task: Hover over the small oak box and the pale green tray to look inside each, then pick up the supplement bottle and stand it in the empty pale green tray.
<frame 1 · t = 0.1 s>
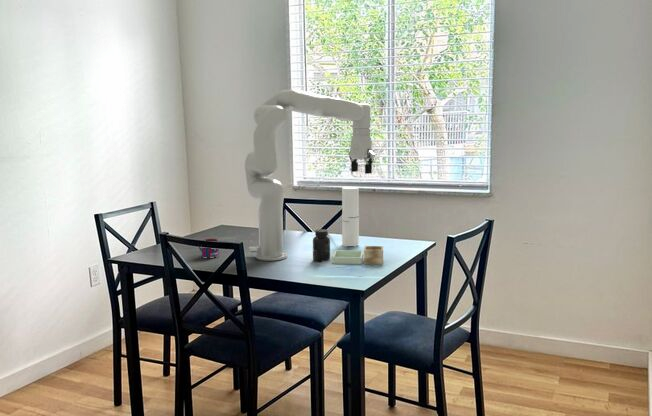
hand: (361, 172, 265), 31 cm above the table, tool pointing down, fingers open, 9 cm apart
supplement bottle: (321, 260, 240), on the table
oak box: (373, 263, 235), on the table
tray: (348, 261, 238), on the table
mug: (208, 256, 248), on the table
cylindrical container: (350, 245, 266), on the table
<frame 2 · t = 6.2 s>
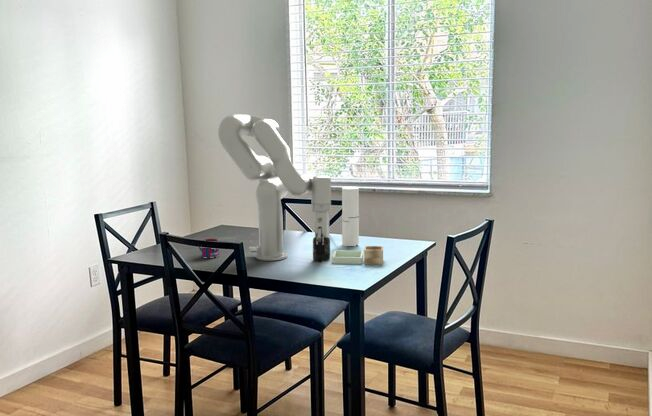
hand: (321, 252, 239), 3 cm above the table, tool pointing down, fingers closed on supplement bottle, 6 cm apart
supplement bottle: (321, 260, 240), on the table, touching gripper
everything else where it was.
when the fingers open (5 cm above the table, at t = 11.5 s): supplement bottle drops 1 cm, resting on tray.
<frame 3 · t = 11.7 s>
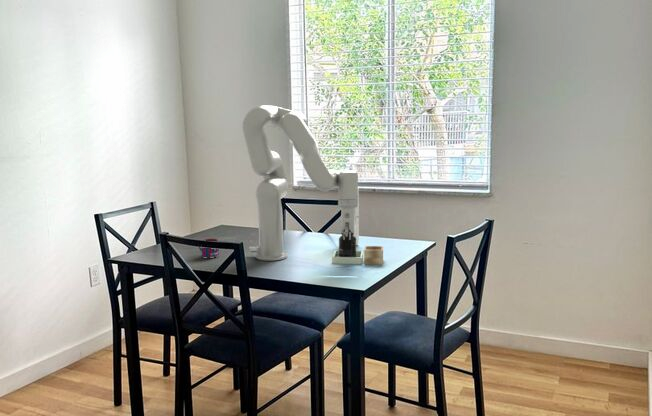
hand: (348, 247, 237), 6 cm above the table, tool pointing down, fingers open, 8 cm apart
supplement bottle: (347, 260, 238), resting on tray
everything else where it was.
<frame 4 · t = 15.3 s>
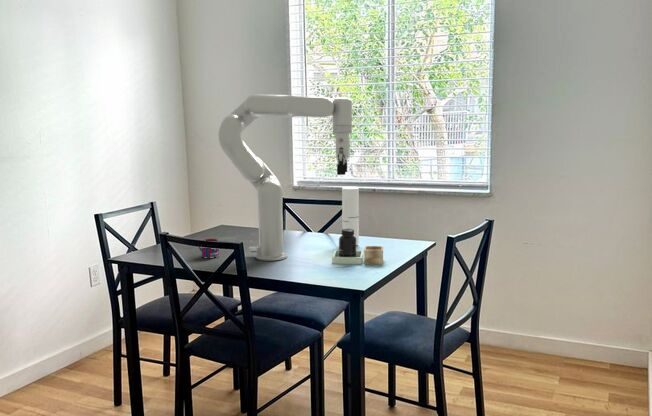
hand: (342, 173, 242), 33 cm above the table, tool pointing down, fingers open, 9 cm apart
nothing on the table moved.
at the end: supplement bottle inside the target area on the tray (0.2 cm from its centre), point 0.4 cm above the tray's base; supplement bottle tilted 0°; the gripper is holding nothing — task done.
